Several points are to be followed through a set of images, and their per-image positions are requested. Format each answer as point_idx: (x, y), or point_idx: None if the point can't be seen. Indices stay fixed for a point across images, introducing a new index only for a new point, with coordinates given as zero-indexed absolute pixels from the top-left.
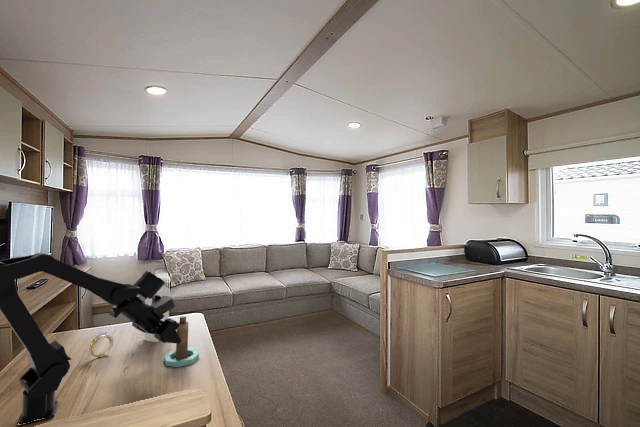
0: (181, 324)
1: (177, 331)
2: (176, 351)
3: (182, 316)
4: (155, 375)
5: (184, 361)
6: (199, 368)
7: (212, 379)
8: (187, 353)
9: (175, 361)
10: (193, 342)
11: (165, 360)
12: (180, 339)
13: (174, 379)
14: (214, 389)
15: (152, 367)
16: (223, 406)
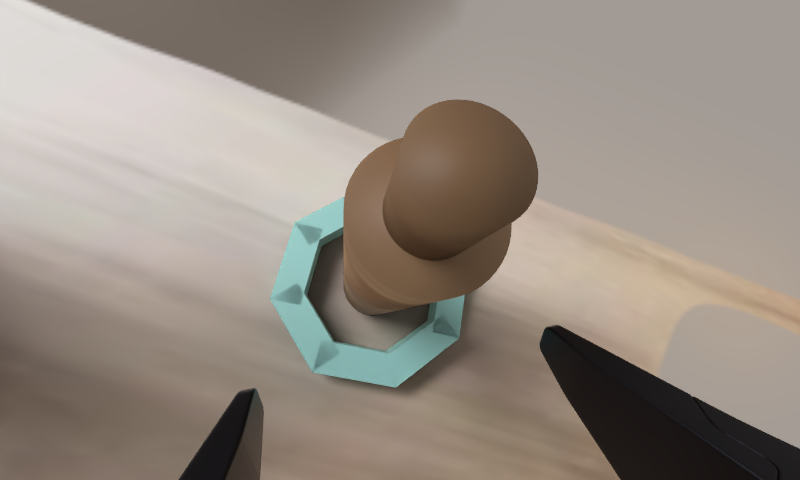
0: (473, 248)
1: (419, 305)
2: (380, 313)
3: (408, 142)
4: (468, 466)
5: (462, 299)
6: (521, 258)
7: (633, 261)
8: (339, 235)
9: (441, 343)
10: (198, 140)
11: (373, 382)
12: (580, 339)
13: (559, 391)
14: (699, 289)
15: (360, 456)
16: (797, 314)
